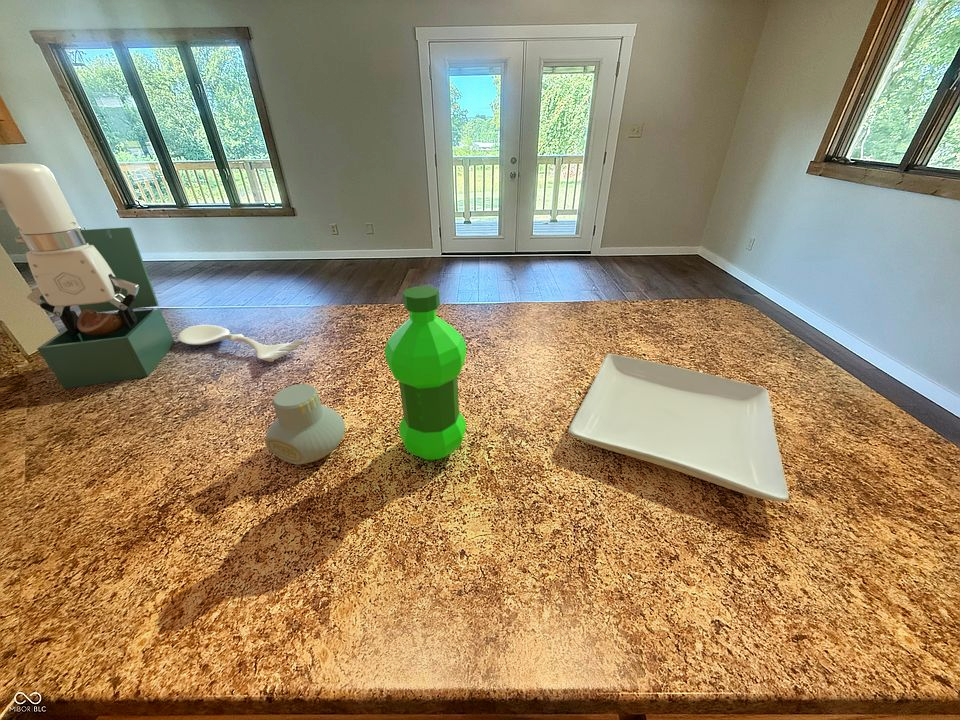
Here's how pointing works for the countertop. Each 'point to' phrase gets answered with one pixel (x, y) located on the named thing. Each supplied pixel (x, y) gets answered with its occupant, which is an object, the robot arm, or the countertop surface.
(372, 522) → the countertop surface
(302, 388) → the air freshener
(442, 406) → the plastic bottle
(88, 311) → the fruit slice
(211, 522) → the countertop surface
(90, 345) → the open green box
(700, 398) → the square plate
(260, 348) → the spoon
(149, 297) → the lid
